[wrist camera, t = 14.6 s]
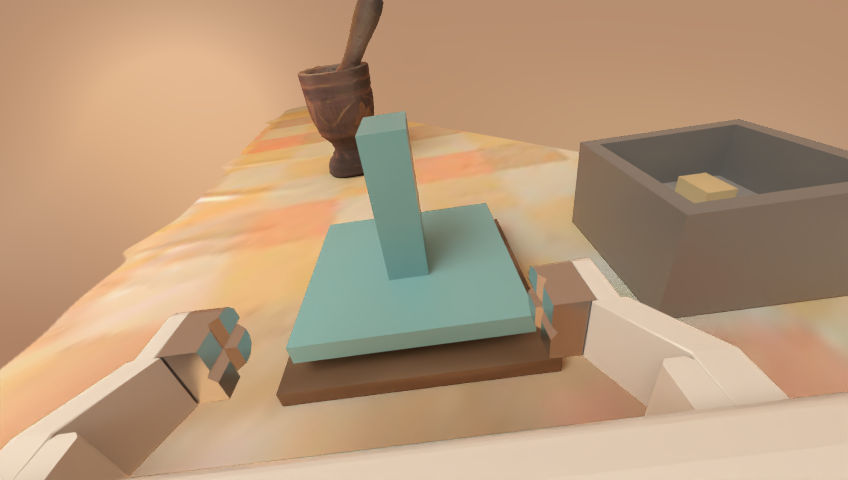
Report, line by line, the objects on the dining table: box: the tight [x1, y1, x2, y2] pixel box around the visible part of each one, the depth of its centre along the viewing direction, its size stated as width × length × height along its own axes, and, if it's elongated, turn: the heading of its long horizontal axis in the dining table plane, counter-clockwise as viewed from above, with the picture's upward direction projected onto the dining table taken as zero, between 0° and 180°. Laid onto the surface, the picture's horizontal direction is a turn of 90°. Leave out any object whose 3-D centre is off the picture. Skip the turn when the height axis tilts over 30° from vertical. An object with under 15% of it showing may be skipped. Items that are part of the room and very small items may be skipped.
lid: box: [286, 111, 536, 363], centre depth 22 cm, size 13×13×11 cm
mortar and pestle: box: [298, 0, 383, 177], centre depth 45 cm, size 12×9×20 cm
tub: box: [572, 119, 848, 318], centre depth 24 cm, size 12×12×7 cm
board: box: [277, 219, 562, 406], centre depth 25 cm, size 15×15×1 cm
